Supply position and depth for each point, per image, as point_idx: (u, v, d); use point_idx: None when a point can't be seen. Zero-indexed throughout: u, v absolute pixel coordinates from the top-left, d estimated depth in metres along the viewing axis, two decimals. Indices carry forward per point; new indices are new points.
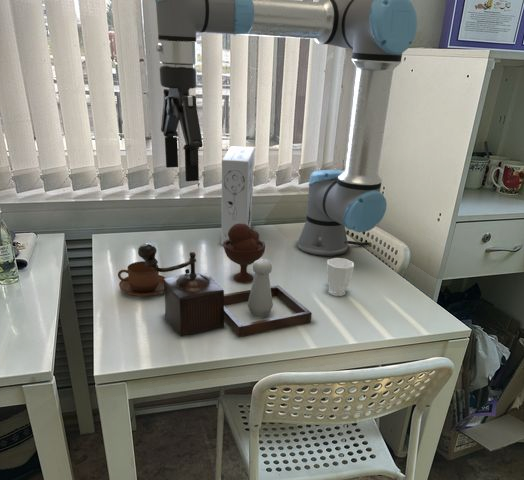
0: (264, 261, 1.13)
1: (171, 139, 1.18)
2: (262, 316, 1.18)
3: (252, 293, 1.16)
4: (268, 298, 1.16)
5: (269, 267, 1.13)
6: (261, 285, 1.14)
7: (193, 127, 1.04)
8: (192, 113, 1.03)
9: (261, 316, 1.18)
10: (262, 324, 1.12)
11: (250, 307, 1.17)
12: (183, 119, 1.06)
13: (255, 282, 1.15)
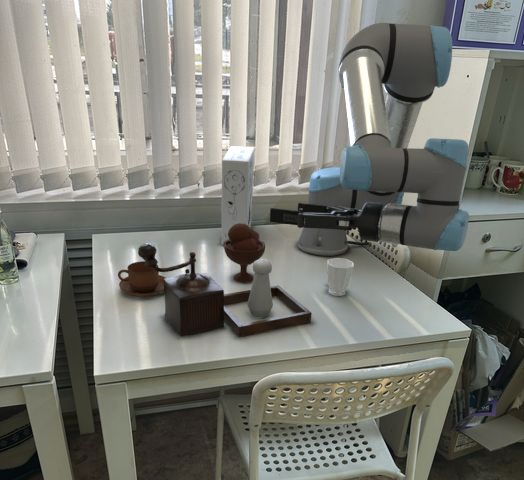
0: (264, 261, 1.13)
1: None
2: (262, 316, 1.18)
3: (252, 293, 1.16)
4: (268, 298, 1.16)
5: (269, 267, 1.13)
6: (261, 285, 1.14)
7: None
8: None
9: (261, 316, 1.18)
10: (262, 324, 1.12)
11: (250, 307, 1.17)
12: None
13: (255, 282, 1.15)
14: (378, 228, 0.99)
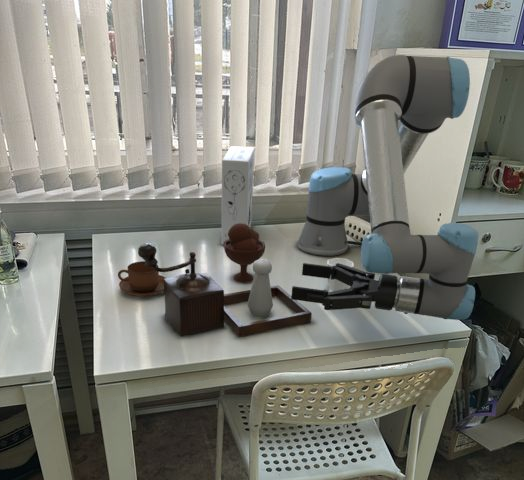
0: (264, 261, 1.13)
1: None
2: (262, 316, 1.18)
3: (252, 293, 1.16)
4: (268, 298, 1.16)
5: (269, 267, 1.13)
6: (261, 285, 1.14)
7: None
8: None
9: (261, 316, 1.18)
10: (262, 324, 1.12)
11: (250, 307, 1.17)
12: None
13: (255, 282, 1.15)
14: (395, 302, 1.08)
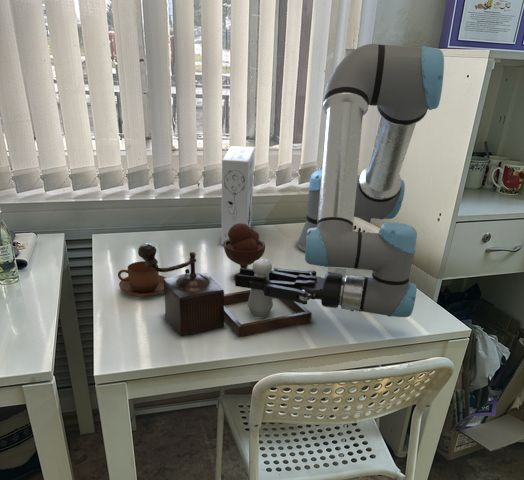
0: (264, 261, 1.13)
1: None
2: (262, 316, 1.18)
3: (252, 293, 1.16)
4: (268, 298, 1.16)
5: (269, 267, 1.13)
6: None
7: None
8: None
9: (261, 316, 1.18)
10: (262, 324, 1.12)
11: (250, 307, 1.17)
12: None
13: None
14: (339, 300, 1.10)
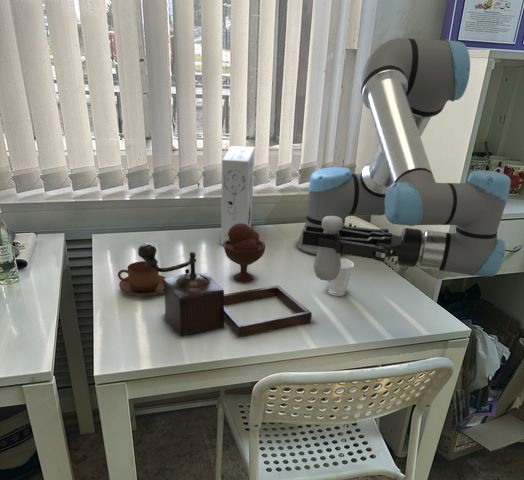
0: (335, 217, 1.05)
1: None
2: (330, 278, 1.09)
3: (320, 253, 1.07)
4: (337, 258, 1.07)
5: (341, 223, 1.04)
6: None
7: None
8: None
9: (329, 278, 1.09)
10: (262, 324, 1.12)
11: (317, 269, 1.09)
12: None
13: None
14: (419, 257, 1.01)
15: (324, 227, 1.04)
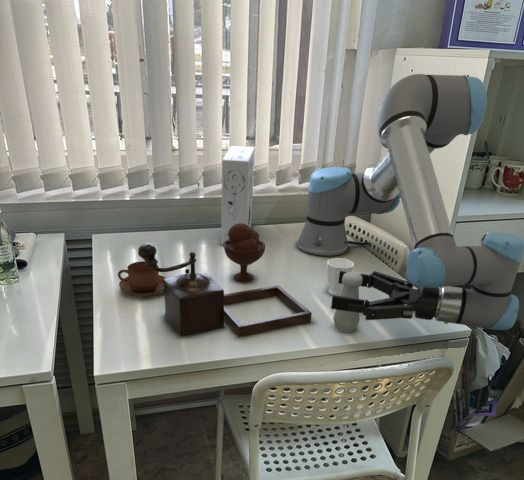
0: (355, 274, 1.09)
1: None
2: (349, 330, 1.14)
3: None
4: None
5: (361, 280, 1.09)
6: None
7: None
8: None
9: (348, 330, 1.14)
10: (262, 324, 1.12)
11: (337, 321, 1.13)
12: None
13: (344, 295, 1.11)
14: (436, 312, 1.06)
15: (345, 283, 1.09)
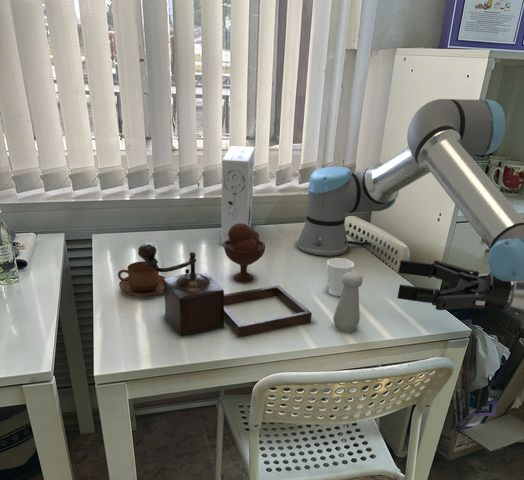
0: (355, 274, 1.09)
1: None
2: (349, 330, 1.14)
3: (340, 307, 1.12)
4: (357, 311, 1.12)
5: (361, 280, 1.09)
6: (351, 299, 1.10)
7: None
8: None
9: (348, 330, 1.14)
10: (262, 324, 1.12)
11: (337, 321, 1.13)
12: None
13: (344, 295, 1.11)
14: (508, 302, 1.02)
15: (345, 283, 1.09)
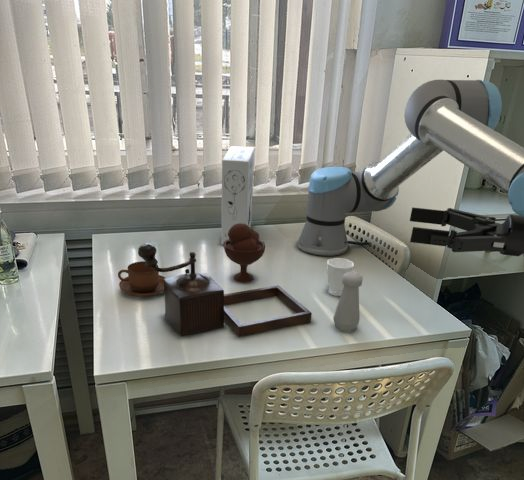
0: (355, 274, 1.09)
1: None
2: (349, 330, 1.14)
3: (340, 307, 1.12)
4: (357, 311, 1.12)
5: (361, 280, 1.09)
6: (351, 299, 1.10)
7: None
8: None
9: (348, 330, 1.14)
10: (262, 324, 1.12)
11: (337, 321, 1.13)
12: None
13: (344, 295, 1.11)
14: None
15: (345, 283, 1.09)
